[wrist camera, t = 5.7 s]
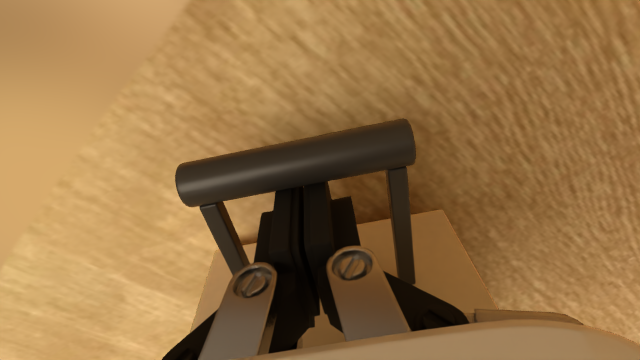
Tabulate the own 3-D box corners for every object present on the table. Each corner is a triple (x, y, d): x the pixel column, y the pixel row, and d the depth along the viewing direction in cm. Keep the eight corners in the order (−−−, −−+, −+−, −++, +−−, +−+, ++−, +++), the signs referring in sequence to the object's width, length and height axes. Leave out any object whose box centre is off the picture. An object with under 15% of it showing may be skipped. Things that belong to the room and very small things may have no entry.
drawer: (154, 129, 14) (46, 248, 8) (440, 68, 13) (550, 153, 7) (283, 385, 24) (276, 515, 19) (444, 361, 24) (489, 490, 18)
